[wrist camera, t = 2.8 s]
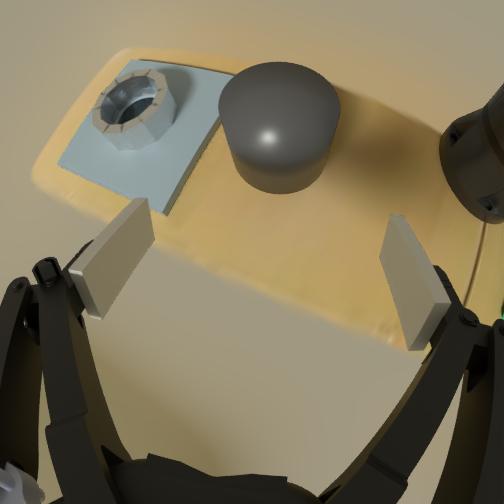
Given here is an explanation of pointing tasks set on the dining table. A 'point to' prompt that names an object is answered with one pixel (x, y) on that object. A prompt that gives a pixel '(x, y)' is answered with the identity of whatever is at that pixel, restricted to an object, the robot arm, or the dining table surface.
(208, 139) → the board
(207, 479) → the robot arm
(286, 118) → the dome-topped grey cylinder
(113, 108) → the pale grey faceted ring
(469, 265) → the dining table surface
